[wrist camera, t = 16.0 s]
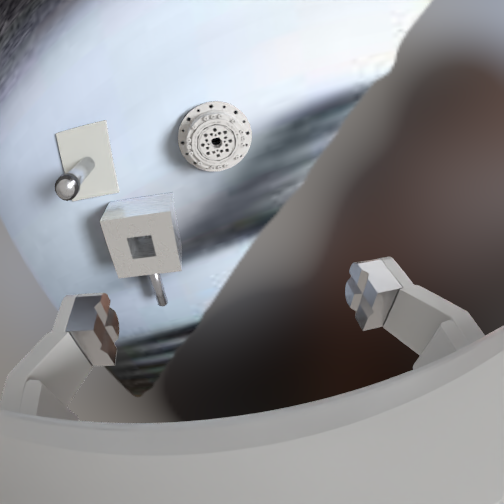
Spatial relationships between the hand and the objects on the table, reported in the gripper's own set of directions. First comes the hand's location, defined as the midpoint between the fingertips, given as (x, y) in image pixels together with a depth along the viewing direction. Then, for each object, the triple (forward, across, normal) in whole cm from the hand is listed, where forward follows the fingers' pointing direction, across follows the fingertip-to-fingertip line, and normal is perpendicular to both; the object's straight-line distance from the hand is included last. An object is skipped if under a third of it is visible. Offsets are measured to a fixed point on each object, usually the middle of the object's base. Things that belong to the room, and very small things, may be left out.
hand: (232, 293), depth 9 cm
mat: (+34, +17, +4) cm, 38 cm away
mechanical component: (+34, -2, +3) cm, 34 cm away
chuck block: (+33, +10, +21) cm, 41 cm away
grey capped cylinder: (+33, +17, +4) cm, 37 cm away
